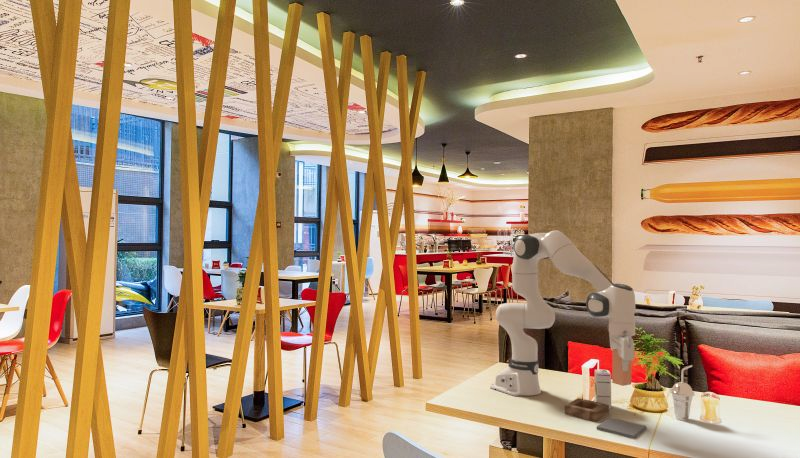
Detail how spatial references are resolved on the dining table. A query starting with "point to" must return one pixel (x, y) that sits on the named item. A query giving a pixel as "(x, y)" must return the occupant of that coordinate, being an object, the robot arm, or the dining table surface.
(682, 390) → the cup with straw
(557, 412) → the dining table surface
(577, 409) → the socket holder
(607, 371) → the syrup box
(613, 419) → the slate mat
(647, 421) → the dining table surface
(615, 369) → the terracotta peg
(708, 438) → the dining table surface
